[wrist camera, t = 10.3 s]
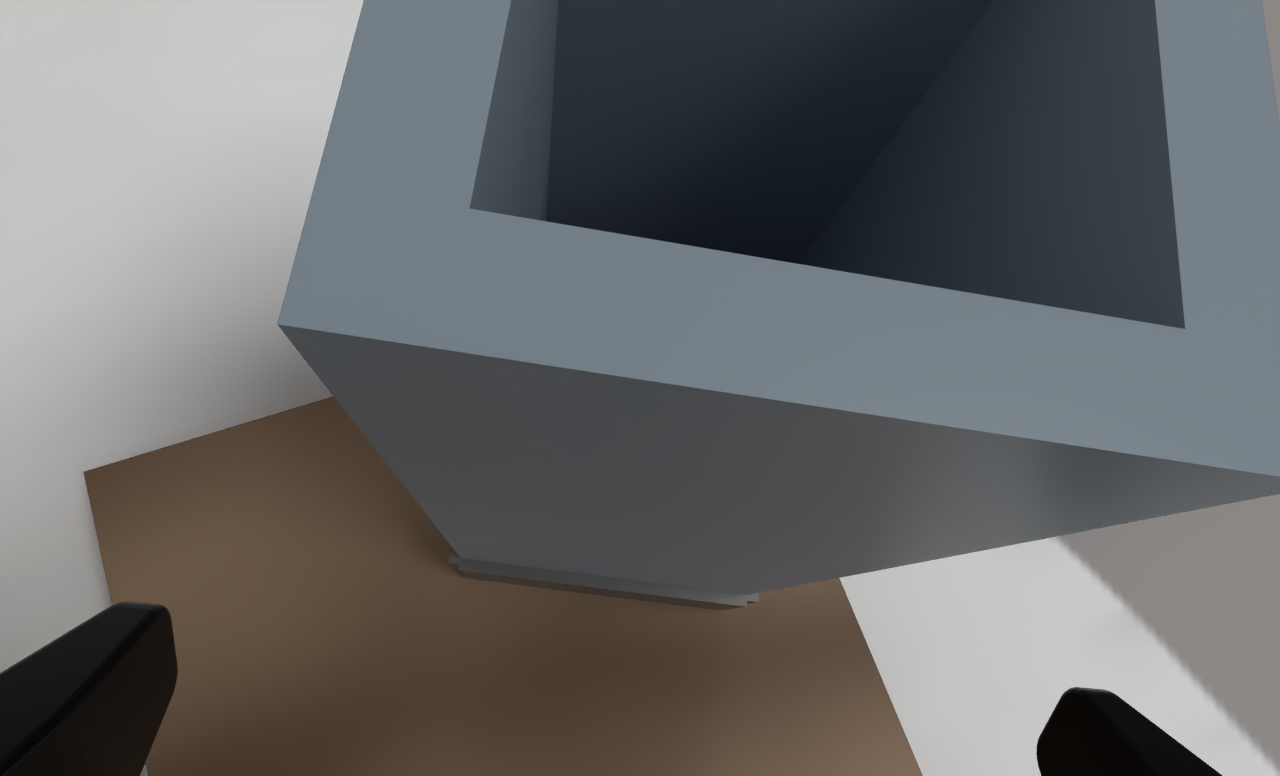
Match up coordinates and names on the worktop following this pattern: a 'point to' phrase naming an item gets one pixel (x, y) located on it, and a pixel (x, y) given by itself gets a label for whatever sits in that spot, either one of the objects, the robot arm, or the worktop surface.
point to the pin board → (449, 637)
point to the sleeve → (797, 278)
